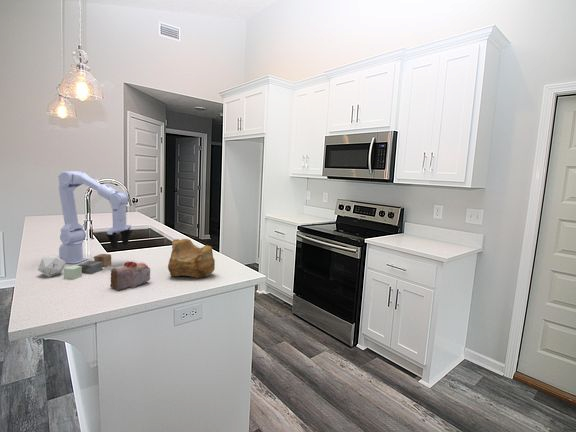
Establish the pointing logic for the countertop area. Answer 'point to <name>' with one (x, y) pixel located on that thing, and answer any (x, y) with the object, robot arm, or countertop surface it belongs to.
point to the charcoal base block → (91, 267)
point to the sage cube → (72, 272)
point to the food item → (129, 275)
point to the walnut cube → (103, 259)
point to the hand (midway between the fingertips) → (120, 246)
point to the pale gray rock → (51, 265)
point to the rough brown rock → (190, 259)
